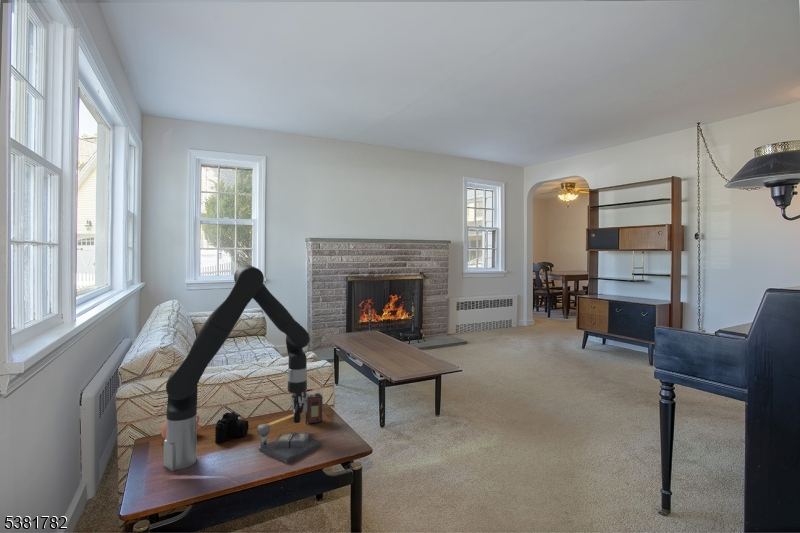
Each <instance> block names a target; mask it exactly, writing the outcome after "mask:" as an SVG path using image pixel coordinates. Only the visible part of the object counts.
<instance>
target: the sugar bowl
mask: <svg viewBox="0 0 800 533" xmlns="http://www.w3.org/2000/svg"><path fill="white" fill-rule="evenodd" d="M199 421H200V416H199V415H198V414H197V431H199V430H200V429H202V428H201V427H202V426H201V424H199ZM166 431H167V419H166V420H165V421H164V423H163V425H162V427H161V431H160V432H161V433H160V435H161V437H162V438H163V439H164V440H166Z"/></svg>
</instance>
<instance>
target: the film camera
mask: <svg viewBox="0 0 800 533" xmlns="http://www.w3.org/2000/svg"><path fill="white" fill-rule="evenodd" d="M239 417H241V414H237V413H235V412H234V411H232V412H225V413H223V415H222V417H221V418H220V419H218V420H217V421H216V425H215V428H214V429H215V435H214V440H215V441H214V443H215V444H216V445H222V444H224V443H225V442H226V441H228V439H229V438H230V439H231V438H234V437H245V436H247V434H248V432H249V428H250V426H249V421H248V420H245V419H239Z"/></svg>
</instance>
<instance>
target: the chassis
mask: <svg viewBox="0 0 800 533" xmlns="http://www.w3.org/2000/svg"><path fill="white" fill-rule="evenodd" d="M321 443H322V442H321V441H320V440H318V439H315V438H312V437H310V436H309V433H308V432H307V433H306V432H305V433H303V432H300V433H299V432H296V431H292V432H281V433H280V434H279V435H278V436H277V439H275V440H272V441H269V442H267V444H265V445H262V446H260V449H259V452H260V453H262V454H264V455H266V456H269V457H271V458H273V459H276V460H278V461H280V462H282V463H285V464H290V463H291V462H293V461H295V460H297V459H299V458H301V457H303V456H305V455H307V454H309V453H310V452H312V451H314V450H316V449H318V448H320V447H321V446H322V444H321Z"/></svg>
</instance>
